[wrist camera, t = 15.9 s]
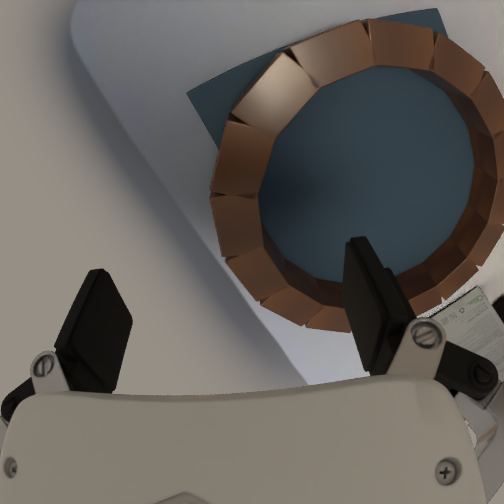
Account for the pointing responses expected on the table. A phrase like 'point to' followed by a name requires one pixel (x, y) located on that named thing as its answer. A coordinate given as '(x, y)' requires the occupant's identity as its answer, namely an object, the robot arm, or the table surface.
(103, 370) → the robot arm
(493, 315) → the ink box
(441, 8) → the table surface
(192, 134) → the table surface
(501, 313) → the beverage can
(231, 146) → the hoop
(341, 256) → the mat
